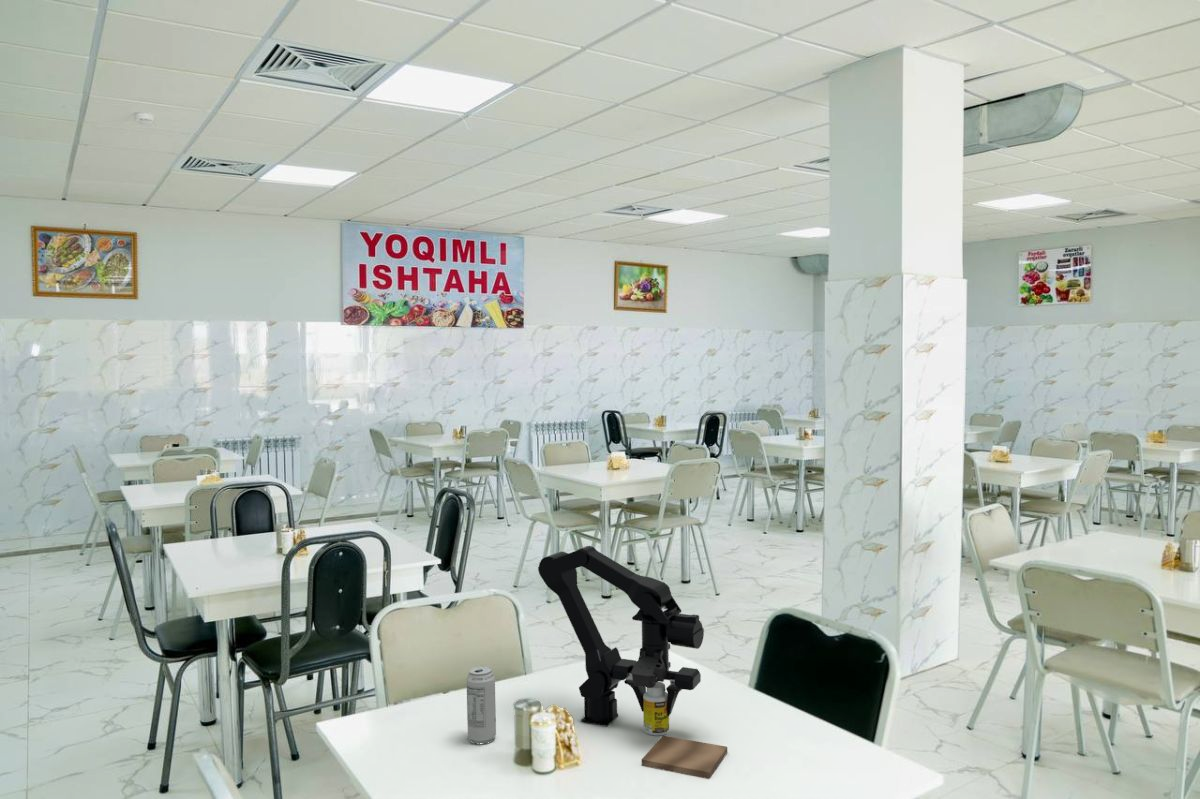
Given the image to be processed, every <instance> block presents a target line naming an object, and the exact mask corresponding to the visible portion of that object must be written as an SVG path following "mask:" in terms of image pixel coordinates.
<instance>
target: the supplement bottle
mask: <svg viewBox="0 0 1200 799" xmlns="http://www.w3.org/2000/svg"><path fill="white" fill-rule="evenodd" d="M667 699H668V692H667V691H666V684H665V683H664V682H660V681H658V682H656V685H655V686H654V687H653V688H647V687H646V692H645V693H644V695H643V711H642V712H643V715H642V716H643V732H645V733H646V734H647V735H649V736H657V737H658V736H659V737H660V736H663V735H664V736H665V735H666V734H667V733H669V730H670V716H668V715H667Z"/></svg>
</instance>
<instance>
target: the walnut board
mask: <svg viewBox="0 0 1200 799" xmlns="http://www.w3.org/2000/svg"><path fill="white" fill-rule="evenodd" d="M727 753H728V746H725V745H720V744H714V743H708V742H702V741H698V740H697V741H696V740H693V739H691V740H690V739H686V738H680V737H675V736H669V735H665V734H664V735H661V737H660V738H659V739H658V740H657V741H656V743H654V745H653V746H652V747H651V748H650V749H649V750H648V752H647V753H646V754H645V755H644V756H643V757H642V758H641V766H642V767H643V766H644V767H648V768H654V769H658V770H663V769H664V771H668V770H669V772H674V771H675V772H674V773H678V772H679V774H683V773H684V775H688V774H689V775H688V776H695V777H700V778H704V777H705V778H706V779H709V778H710V779H711V777H712V776H713V774H714V773H715V771H716V770H717V769H718V767H719V766H720V764H721V763H722V762H723V760H724V758H725V757H726V755H727Z"/></svg>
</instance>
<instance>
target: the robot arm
mask: <svg viewBox="0 0 1200 799" xmlns="http://www.w3.org/2000/svg"><path fill="white" fill-rule="evenodd" d="M579 567H583V568H584V569H586V570H588V571H589V572H591V573H593V574H594V575H596V576H598V577H599V578H600V579H602V580H604V581H606V582H607V583H609V584H611V585H613V586H614V587H616V589H619V590H621V591H622V592H624V593H625V595H627V596H628V599H629V600H630V601H631V603H632V604H634V605H635V607H637V608H638V611H637V612H636V613H635V615H633V616H632V617H631V618H632V621H636V622H637V621H639V622H641V647H640V648H639V656H638V658H637V660H633V659H626V658H622V657H621V654H620V652H619V649H618V648H617V647H614V648H612V649H611V648H610V647H609V646H608V645H607V644H606V643H605V641H604V640H603V638H602V636H601V633H600V632H599V629H598V627H597V625H596V623H595V621H594V619H593V616H592V614H591V613H590V610H589V608H588V605H587V603H586V601H585V600H584V597H583V595H582V593H581V591H580V588H579V586H578V571H577V569H578V568H579ZM537 569H538V574H539V576H540V578H541V579H542V581H543V583H545V585H546V587H547V588H549V590H551V591H552V592H553V593H554V594H556V596H557V597H558V598H559V600H560V603H561V604H562V606H563V610H564V611H565V613H566V616H567V618H568V620H569V622H570V624H571V627H572V628H573V630H574V633H575V635H576V637H577V639H578V641H579V643H580V646H581V647H582V649H583V652H584V654H585V655H584V657H585V658H584V659H585V660H584V661H585V664H584V665H585V671H586V674H587V677H588V678H587V679H586V680H585V681H584V682H583V683H582V684H581V685H580V686H579V687H578V689H579V694H580V696H581V698H584V699H583V700H584V702H583V704H584V705H583V706H584V708H583V709H584V716H582V718H581V723H587V724H593V725H598V726H603V727H608V726H609V725H610V724H612V722H614V721H615V720H616V719H617V718H618V717H619V713H618V700H617V698H616V693H615V691H614V690H615V689H617V688H618V686H619V683H620V682H621V681H623V682H624V684H625V685H628V686H629V687H631V689H632V690H633V692H634V694H635V696H636V699H637V702H638V705H639V707H640V710H641V712H643V695H644V693H645V692H647V688H653V687H654V686H655V685H656V682H662V683H664V681H669V683H670V684H669V685H668V686H666V687H665V691H666V692H667V693H668V699H667V715H668V716H669V717H670V716H671V714H672V711H673V709H674V707H675V704H676V702H677V698H678V695H679V693H680V692H681V691H682V690H687V691H692V690H694V689H696V687H698V685H699V684H700V683H701V679H702V677H701V676H702V675H701V672H700V671H699V669H698V668H692V667H687V666H686V667H685V666H682V667H681V668H680V669H679V670H678V671H676V670H675V671H673V670H670V669H671V664H672V663H671V661H670V660H669V658H670V657H669V656H670V655H669V650H670V649H671V645H672V646H676V647H682V648H683V647H684V648H691V649H695V650H696V649H700V648H701V645H702V644H703V640H704V635H705V634H704V632H705V629H704V628H703V623H702V621H701V620H700V615H699V614H684V613H682V609H681V608H680V606H679V605H678V603H677V601H676V600H675V598H674V596H673V595H672V591H671V590H670V589H671V588H670V587H669V585H668V584H667V583H665V582H663V581H661V580H659V579H656V578H653V577H650V576H644V575H640V574H638V573H635V572H634V571H632V570H630V569H629V568H627V567H625V566H624V565H622V564H620V563H618V562H617V561H616V560H614V559H611V558H610V557H608V556H607V555H605V554H603V553H601V552H600V551H598V550H597V549H596V548H595V547H594V546H592V545H586V546H583V547H581V548H578V549H577V550H575V551H572V552H569V553H567V552H565V551H559V552H555V553H552V554H550V555H547V556H545V557H543V558H542V559H541V560H540V562H539V564H538V567H537ZM664 608H666V609H665V610H664V611H663V609H664Z"/></svg>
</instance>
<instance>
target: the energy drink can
mask: <svg viewBox="0 0 1200 799" xmlns="http://www.w3.org/2000/svg"><path fill="white" fill-rule="evenodd" d="M468 672H469V673H468V674H467V676H466V679H465V680H466V713H467V715H466V720H467V738H468V739H469V740H470V742H471V741H472V742H473V744H474V743H479V744H478V745H481V744H480V743H486V744H489V743H488V742H490V741H491V742H493V741H494V738H495V737H497V736H496V735H497V718H496V713H497V710H496V707H497V706H496V675H495V674H494V673H493V668H492V667H491V666H484V665H480V666H474V667H471V668H470V669H469V671H468ZM492 740H493V741H492ZM472 742H471V743H472ZM491 742H490V743H491Z"/></svg>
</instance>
